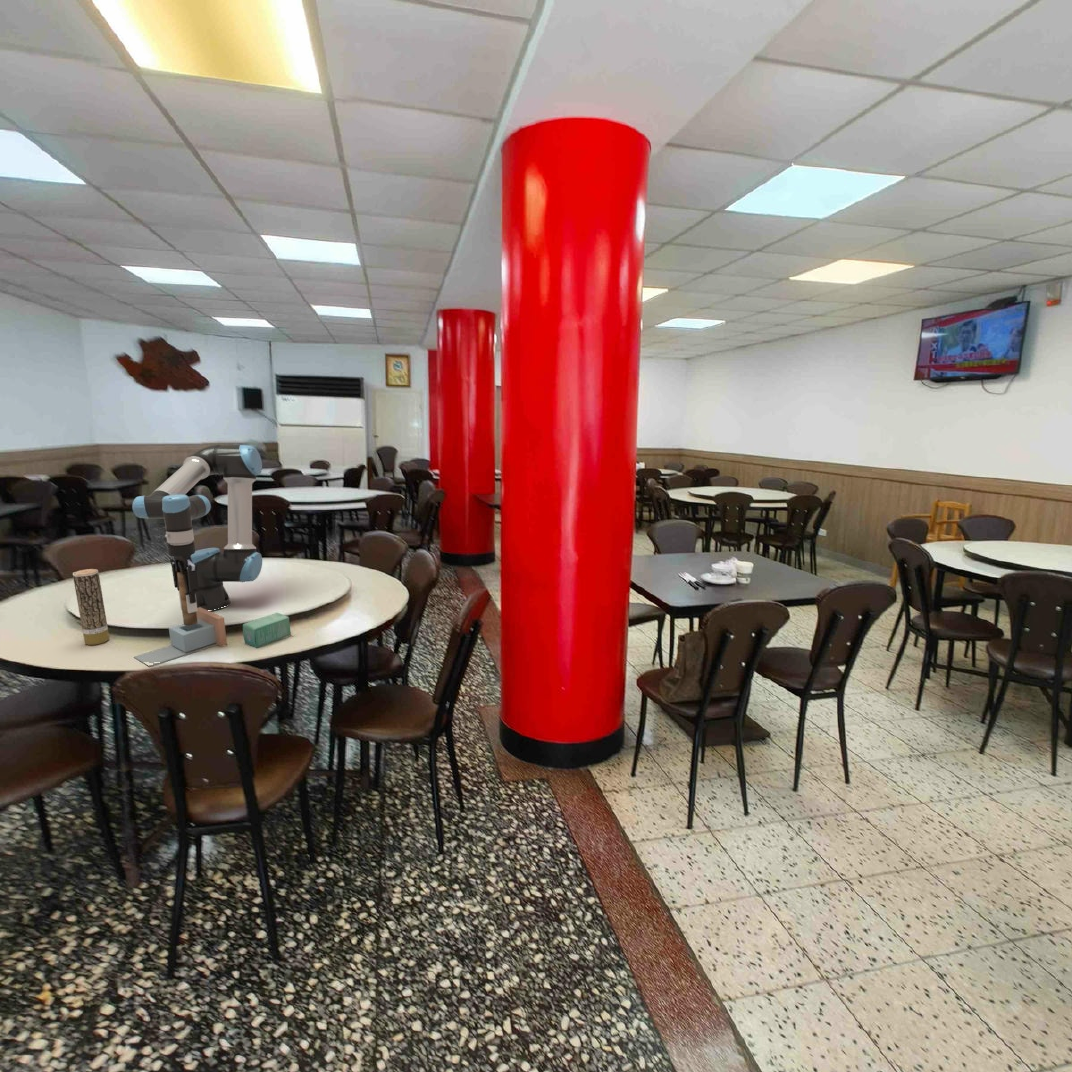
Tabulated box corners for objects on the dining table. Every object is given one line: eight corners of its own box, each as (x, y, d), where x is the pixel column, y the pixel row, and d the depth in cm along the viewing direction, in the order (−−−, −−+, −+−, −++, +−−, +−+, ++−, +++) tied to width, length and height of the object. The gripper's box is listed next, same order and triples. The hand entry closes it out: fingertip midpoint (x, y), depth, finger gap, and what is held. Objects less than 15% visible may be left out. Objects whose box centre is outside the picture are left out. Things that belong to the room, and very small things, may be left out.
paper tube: (114, 637, 202) (103, 569, 196) (100, 645, 195) (88, 575, 190) (94, 637, 202) (82, 568, 196) (79, 645, 195) (67, 575, 189)
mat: (206, 635, 206) (206, 634, 206) (223, 642, 200) (223, 641, 200) (134, 657, 187) (133, 656, 187) (149, 667, 181) (149, 666, 181)
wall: (203, 633, 207) (200, 607, 205) (226, 644, 198) (223, 617, 196) (197, 635, 206) (194, 608, 203) (221, 646, 197) (217, 619, 194)
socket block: (201, 635, 204) (199, 619, 202) (216, 642, 198) (214, 626, 197) (171, 644, 196) (168, 628, 194) (185, 652, 190) (183, 635, 189)
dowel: (193, 620, 198) (187, 569, 194) (199, 622, 195) (193, 571, 191) (181, 623, 194) (174, 572, 190) (187, 626, 192) (180, 574, 188)
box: (243, 643, 200) (241, 623, 198) (278, 631, 211) (277, 611, 209) (255, 649, 196) (253, 628, 194) (291, 636, 207) (289, 616, 205)
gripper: (156, 540, 190) (165, 608, 196) (181, 549, 181) (190, 619, 186) (180, 536, 196) (188, 602, 202) (205, 544, 187) (213, 612, 192)
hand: (189, 610), depth 194 cm, fingers closed on dowel, 4 cm apart
